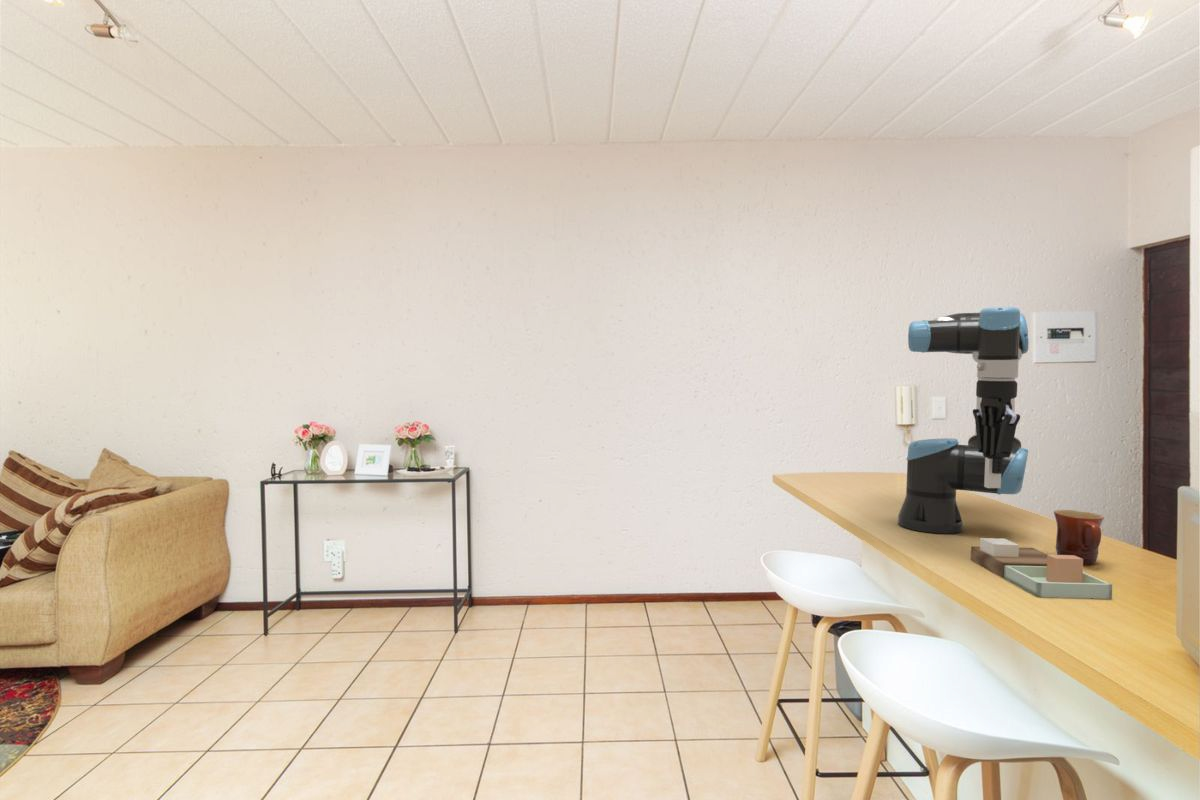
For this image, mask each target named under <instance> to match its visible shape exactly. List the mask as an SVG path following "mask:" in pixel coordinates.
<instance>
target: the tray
mask: <svg viewBox="0 0 1200 800" xmlns="http://www.w3.org/2000/svg"><path fill="white" fill-rule="evenodd" d="M1046 573H1047V566H1011V565H1004V578H1003V579H1004V580H1006V581H1008V582H1009V583H1011V584H1013V585H1015V586H1017V587H1019V588H1020V589H1022V590H1024V591H1026V592H1027V593H1030V594H1032V595H1033V596H1035V597H1037V598H1062V599H1063V598H1065V599H1066V598H1067V599H1091V598H1093V599H1094V600H1095V599H1098V600H1099V599H1100V600H1113V584H1111V583H1109V582H1107V581H1105V580H1102V579H1100V578H1098V577H1096V576H1093V575H1091V574H1089V573H1087V572H1084V571H1083V575H1082V583H1062V582H1049V581H1047V580H1046ZM1093 599H1092V600H1093Z"/></svg>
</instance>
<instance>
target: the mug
mask: <svg viewBox="0 0 1200 800" xmlns="http://www.w3.org/2000/svg"><path fill="white" fill-rule="evenodd" d="M1053 515H1054V518H1055V521H1056V528H1057V529H1056V537H1055V538H1056V539H1055V540H1056V541H1055V551H1056V555H1074V556H1077V557H1079V558H1082V559H1083V566H1084V565H1085V566H1087V565H1093V564H1095V563H1096V562H1097V560H1098V557H1099V553H1100V552H1099V549H1100V548H1099V546H1100V544H1101V541H1102V530H1101V526H1102V523H1103V522H1104V519H1105V517H1104V516H1103V515H1101V514H1099V513H1094V512H1089V511H1088V512H1087V511H1083V510H1074V509H1073V510H1072V509H1058V510H1057V509H1056V510H1054V511H1053Z"/></svg>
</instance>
